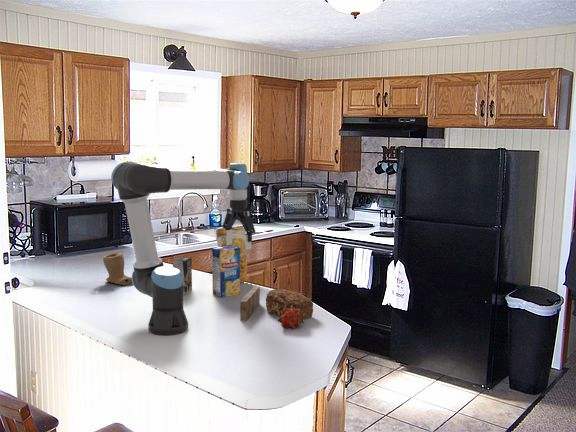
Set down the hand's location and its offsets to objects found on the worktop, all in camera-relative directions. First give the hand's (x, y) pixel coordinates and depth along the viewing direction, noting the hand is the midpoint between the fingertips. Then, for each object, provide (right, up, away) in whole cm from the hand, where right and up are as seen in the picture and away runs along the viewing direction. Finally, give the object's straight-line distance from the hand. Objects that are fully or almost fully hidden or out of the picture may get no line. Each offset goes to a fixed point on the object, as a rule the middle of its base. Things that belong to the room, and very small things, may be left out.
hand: (238, 246), depth 272 cm
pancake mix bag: (-6, -20, +40) cm, 45 cm away
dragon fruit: (+23, -30, -29) cm, 48 cm away
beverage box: (-7, -23, +18) cm, 30 cm away
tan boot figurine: (-63, -20, +36) cm, 75 cm away
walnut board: (+6, -27, -10) cm, 29 cm away
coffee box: (-28, -23, +21) cm, 41 cm away
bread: (+22, -28, -13) cm, 38 cm away
